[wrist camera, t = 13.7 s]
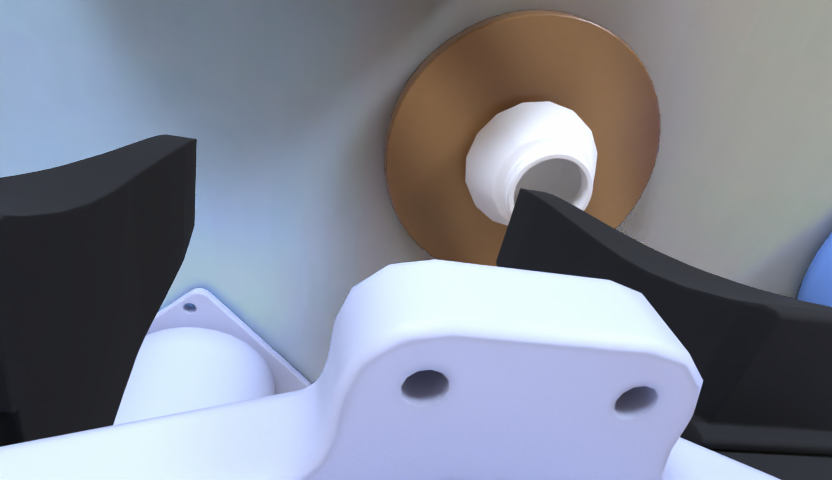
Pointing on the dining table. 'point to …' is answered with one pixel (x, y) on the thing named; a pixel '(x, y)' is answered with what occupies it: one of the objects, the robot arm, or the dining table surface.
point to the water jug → (819, 277)
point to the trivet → (505, 88)
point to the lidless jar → (531, 158)
